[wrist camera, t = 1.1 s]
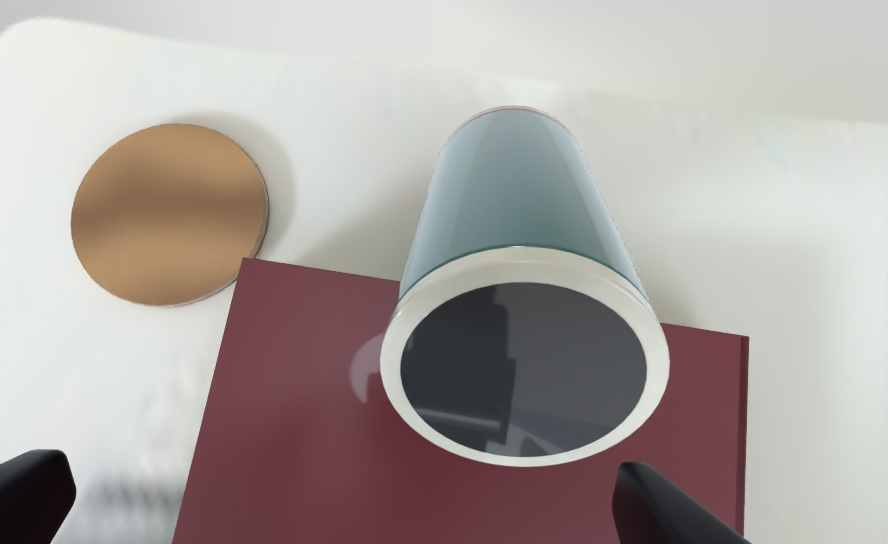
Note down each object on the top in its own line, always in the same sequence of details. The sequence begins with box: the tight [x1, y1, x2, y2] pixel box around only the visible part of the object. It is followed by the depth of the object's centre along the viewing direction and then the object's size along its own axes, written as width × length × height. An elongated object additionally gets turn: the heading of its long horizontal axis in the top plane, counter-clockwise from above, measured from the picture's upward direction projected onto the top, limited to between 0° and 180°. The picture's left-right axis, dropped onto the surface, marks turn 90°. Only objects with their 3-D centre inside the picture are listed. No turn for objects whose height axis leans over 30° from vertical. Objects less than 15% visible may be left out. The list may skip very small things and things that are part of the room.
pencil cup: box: [380, 106, 670, 467], centre depth 16 cm, size 13×7×13 cm, turn 171°
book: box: [172, 257, 749, 544], centre depth 19 cm, size 15×21×3 cm
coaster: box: [71, 124, 269, 307], centre depth 22 cm, size 9×9×1 cm
